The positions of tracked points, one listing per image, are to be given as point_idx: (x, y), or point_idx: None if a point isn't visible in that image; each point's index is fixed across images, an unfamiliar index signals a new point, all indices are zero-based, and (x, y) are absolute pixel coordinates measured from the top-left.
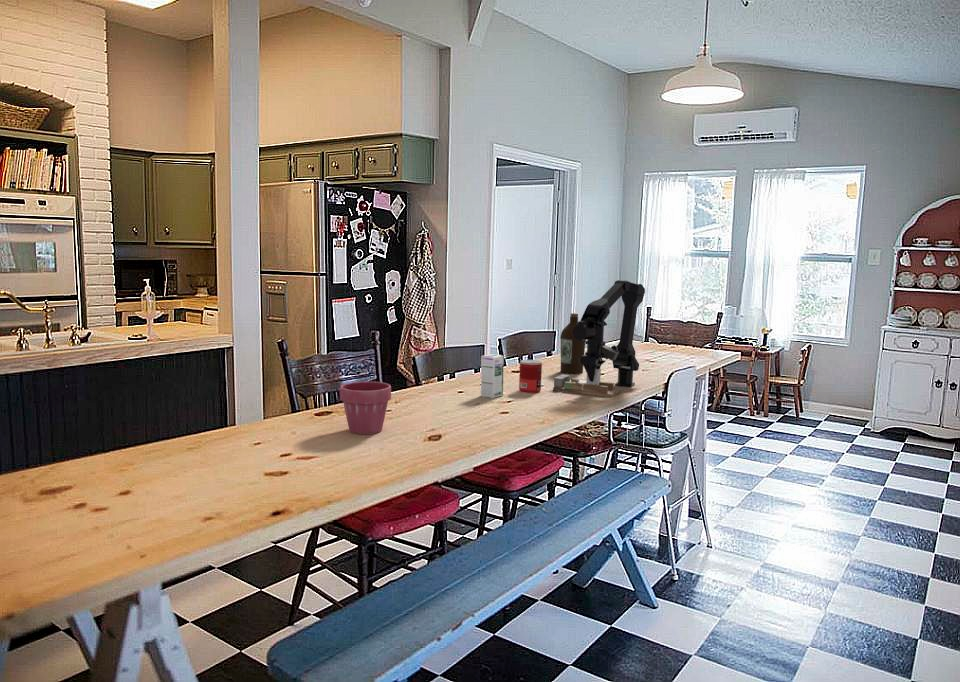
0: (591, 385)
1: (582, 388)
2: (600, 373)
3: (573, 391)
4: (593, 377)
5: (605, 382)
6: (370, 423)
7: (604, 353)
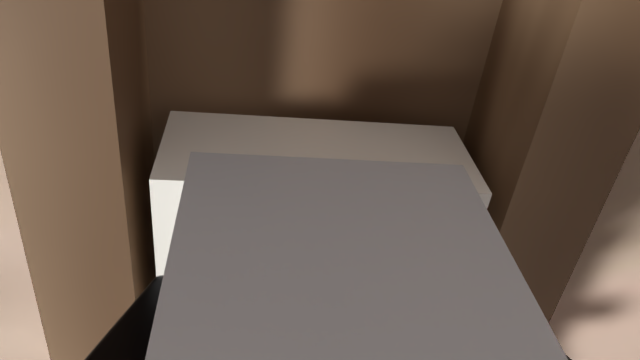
0: (589, 227)
1: None
2: (160, 340)
3: None
4: None
5: (48, 32)
6: None
7: None
